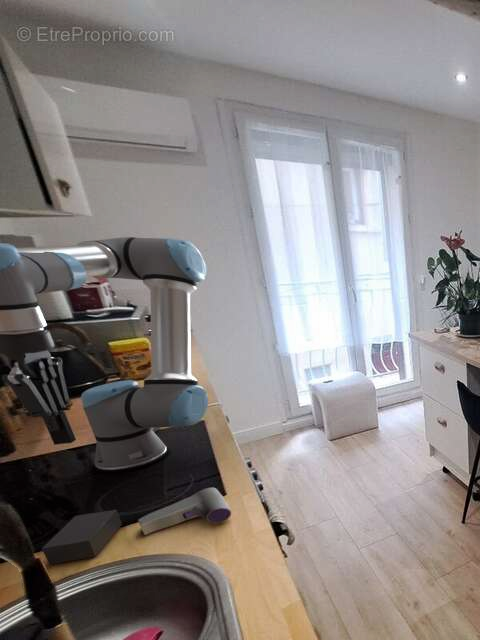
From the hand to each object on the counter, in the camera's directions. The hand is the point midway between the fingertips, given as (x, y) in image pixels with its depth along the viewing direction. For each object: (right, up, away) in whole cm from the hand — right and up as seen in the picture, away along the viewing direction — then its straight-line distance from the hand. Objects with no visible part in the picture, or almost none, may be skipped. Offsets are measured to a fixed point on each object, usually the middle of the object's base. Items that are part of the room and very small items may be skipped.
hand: (65, 442), depth 85 cm
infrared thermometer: (+18, -20, +9) cm, 29 cm away
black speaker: (+1, -18, +6) cm, 19 cm away
